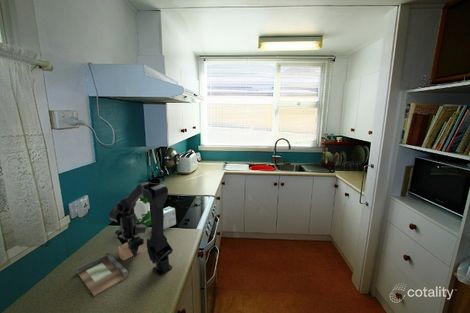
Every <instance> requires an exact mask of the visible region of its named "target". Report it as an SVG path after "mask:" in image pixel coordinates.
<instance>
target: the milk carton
mask: <svg viewBox="0 0 470 313" xmlns="http://www.w3.org/2000/svg"><path fill="white" fill-rule="evenodd" d="M150 208H151V205H150V204H149V202H148V201H147V198H145V197H143V196H142V197H141V198H140V199H139V200H138V201H137V202H136V206H135V207H134V209H133V210H134V211H133V213H135V215H136V216H134V223H135V222H140V224H143V225H145V226H146V228H148V227H149V226H152V221H151V209H150Z"/></svg>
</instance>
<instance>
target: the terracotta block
mask: <svg viewBox="0 0 470 313" xmlns="http://www.w3.org/2000/svg"><path fill="white" fill-rule="evenodd" d="M128 242H129V241H128ZM128 242H127V243H125V244H123V245H122V244H121V245H118V246H117V247H118V256H119V258H120V260H122V261H123V262H124V260H125V261H127V260H129V259H131V258H132V256H133V255H132V253H131V251H130V249H129V248H128V247H129V246H128ZM140 253H142V245H140V246H139V248H138V251H137V255H138V254H140ZM130 257H131V258H130ZM133 257H134V256H133ZM128 258H129V259H128ZM126 259H127V260H126Z"/></svg>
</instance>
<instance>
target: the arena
mask: <svg viewBox="0 0 470 313" xmlns="http://www.w3.org/2000/svg"><path fill="white" fill-rule="evenodd" d="M76 273H77V275H78V277H79V278H80V279H81V280H82V282H83V284H85V286H86V287H87V289H88V290H89V291H90V294H92V296H93V297H96V296H98V295H99V294H101V293H102V292H104V291H106V290H109V288H112V287H113V286H115V285H117V284H119V283H120V282H122V281H123V280H125V279H127V278H128V277H129V271H128V270H127V269H126V268H125V267H124V266H123V265H122V264H121V263H120V262H119V261H118V260H116V259H115V257H114V256H112V254H111V253H110V252H107V253H105V254H103V255H100V256H99V257H97V258H93V259H92V260H89V261H87V262H85V263H84V264H81V265H78V266H77V267H76Z"/></svg>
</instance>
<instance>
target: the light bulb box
mask: <svg viewBox="0 0 470 313" xmlns="http://www.w3.org/2000/svg"><path fill="white" fill-rule="evenodd" d="M175 225H177V217H176V208H175V207H171V206H167V207H165V208H164V230H167V229H168V228H170V227H173V226H175Z"/></svg>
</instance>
